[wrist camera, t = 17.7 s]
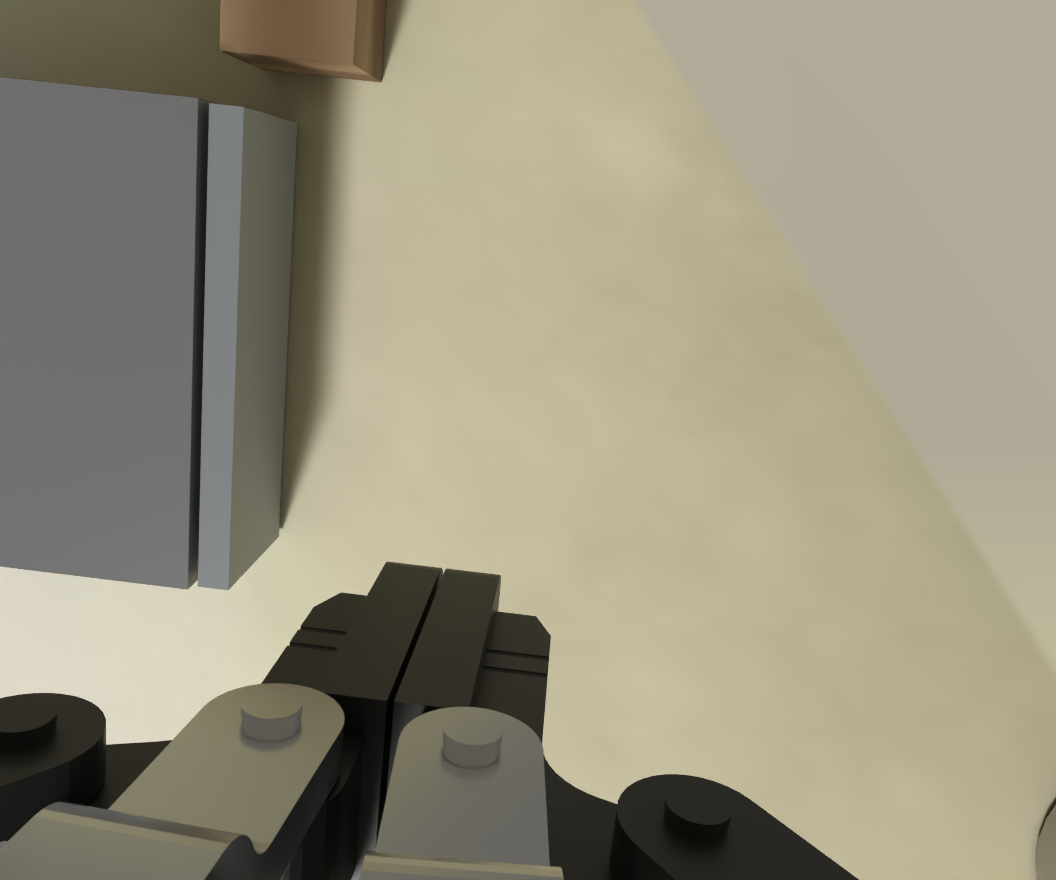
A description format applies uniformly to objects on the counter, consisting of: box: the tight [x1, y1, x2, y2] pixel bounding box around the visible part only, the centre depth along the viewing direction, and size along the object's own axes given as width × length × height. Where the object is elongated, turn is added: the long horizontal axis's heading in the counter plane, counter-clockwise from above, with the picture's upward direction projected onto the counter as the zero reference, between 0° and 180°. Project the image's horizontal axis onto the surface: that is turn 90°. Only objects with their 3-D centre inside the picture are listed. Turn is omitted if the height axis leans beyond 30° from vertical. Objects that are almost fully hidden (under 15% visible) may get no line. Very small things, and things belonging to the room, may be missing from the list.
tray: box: [198, 103, 297, 590], centre depth 32 cm, size 14×15×5 cm
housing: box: [0, 77, 217, 589], centre depth 32 cm, size 14×15×6 cm
